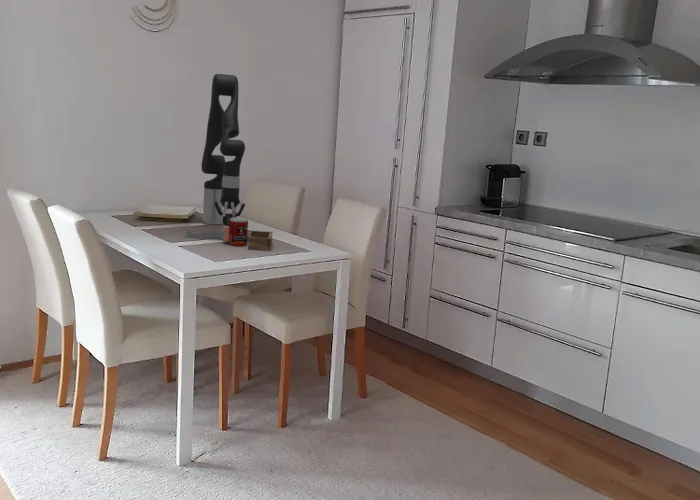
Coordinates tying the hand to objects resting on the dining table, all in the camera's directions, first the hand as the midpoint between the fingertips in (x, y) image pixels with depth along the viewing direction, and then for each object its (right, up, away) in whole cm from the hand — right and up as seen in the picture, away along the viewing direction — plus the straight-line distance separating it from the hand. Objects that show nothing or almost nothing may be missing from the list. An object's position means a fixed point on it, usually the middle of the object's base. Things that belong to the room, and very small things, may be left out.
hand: (228, 224), depth 292 cm
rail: (-3, -6, +1) cm, 7 cm away
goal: (+15, -9, -7) cm, 19 cm away
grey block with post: (0, -7, -2) cm, 7 cm away
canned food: (+5, -9, -7) cm, 12 cm away
